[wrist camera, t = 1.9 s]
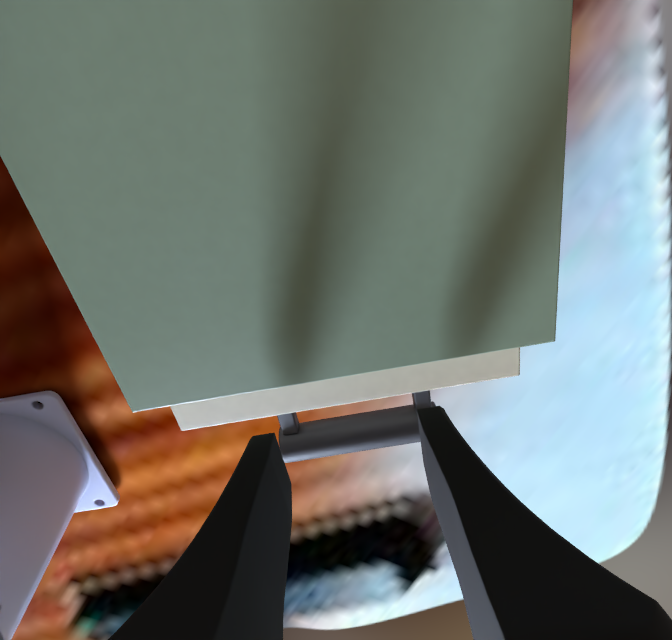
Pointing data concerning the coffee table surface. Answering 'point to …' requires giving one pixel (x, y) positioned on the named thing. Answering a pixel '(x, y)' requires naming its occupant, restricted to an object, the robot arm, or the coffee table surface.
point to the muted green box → (291, 180)
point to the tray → (354, 428)
